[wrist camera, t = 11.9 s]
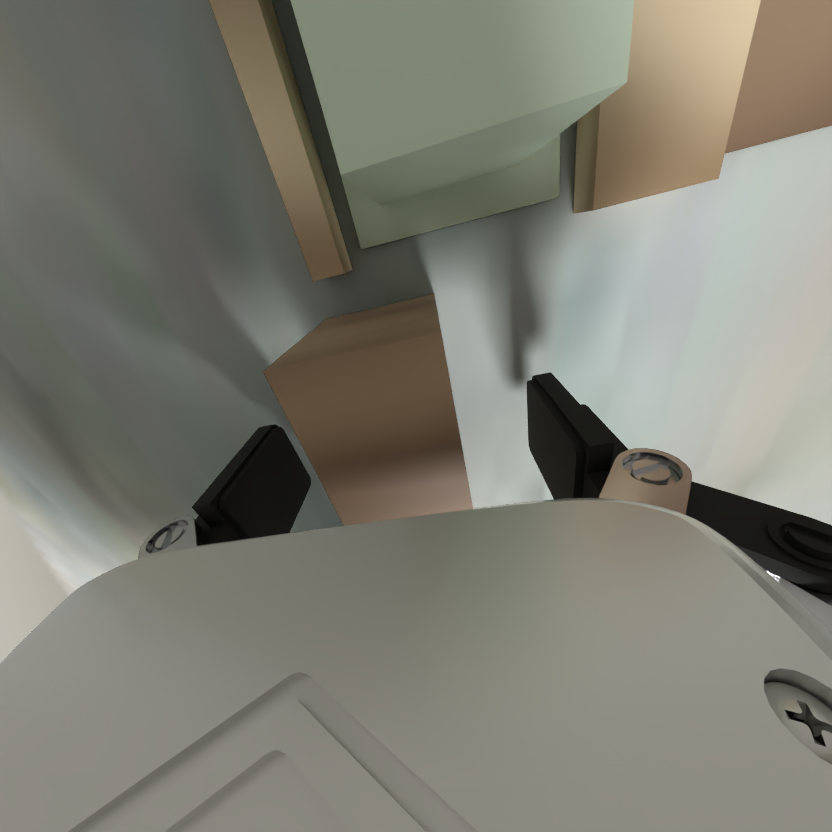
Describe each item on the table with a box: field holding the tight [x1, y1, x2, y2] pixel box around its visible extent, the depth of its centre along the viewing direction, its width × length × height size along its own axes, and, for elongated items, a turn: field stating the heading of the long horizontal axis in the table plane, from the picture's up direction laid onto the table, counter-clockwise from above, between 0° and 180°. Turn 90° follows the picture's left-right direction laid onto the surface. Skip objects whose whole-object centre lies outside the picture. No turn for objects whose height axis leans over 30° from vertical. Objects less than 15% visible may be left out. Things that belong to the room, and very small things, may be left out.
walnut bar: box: [263, 294, 473, 526], centre depth 11 cm, size 9×4×5 cm, turn 13°
